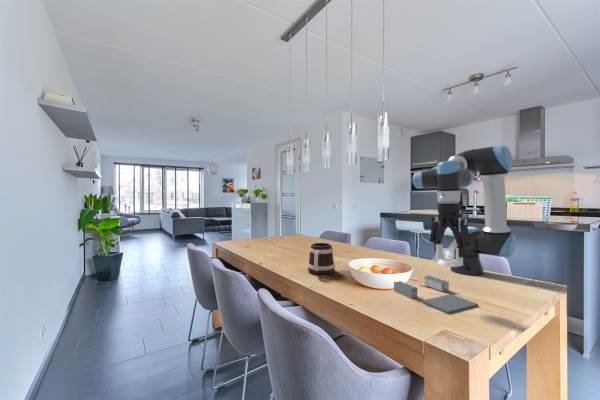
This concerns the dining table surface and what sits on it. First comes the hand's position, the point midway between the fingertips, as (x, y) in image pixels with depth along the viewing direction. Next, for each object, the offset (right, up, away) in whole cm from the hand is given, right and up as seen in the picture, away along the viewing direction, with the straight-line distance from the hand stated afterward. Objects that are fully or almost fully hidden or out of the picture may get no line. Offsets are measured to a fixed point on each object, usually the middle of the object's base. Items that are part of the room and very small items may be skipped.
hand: (449, 263), depth 101 cm
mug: (-45, -16, +45) cm, 66 cm away
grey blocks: (-4, -15, +15) cm, 22 cm away
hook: (0, -1, 0) cm, 1 cm away
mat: (0, -16, 0) cm, 16 cm away
